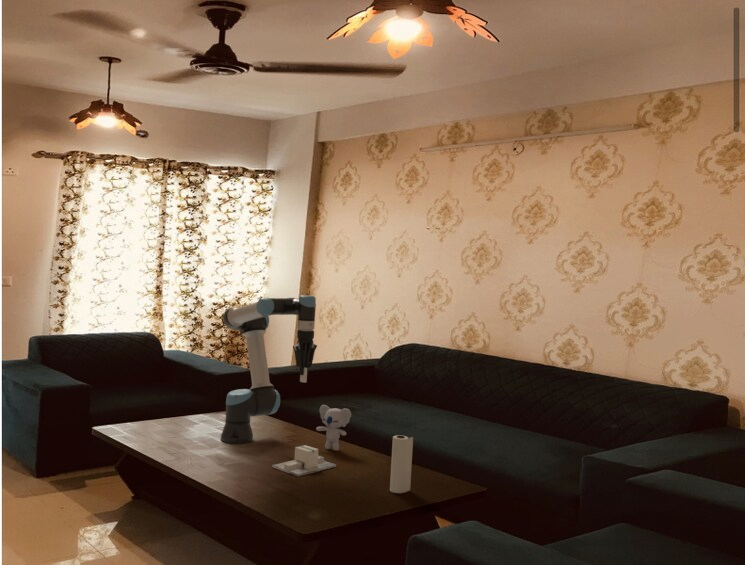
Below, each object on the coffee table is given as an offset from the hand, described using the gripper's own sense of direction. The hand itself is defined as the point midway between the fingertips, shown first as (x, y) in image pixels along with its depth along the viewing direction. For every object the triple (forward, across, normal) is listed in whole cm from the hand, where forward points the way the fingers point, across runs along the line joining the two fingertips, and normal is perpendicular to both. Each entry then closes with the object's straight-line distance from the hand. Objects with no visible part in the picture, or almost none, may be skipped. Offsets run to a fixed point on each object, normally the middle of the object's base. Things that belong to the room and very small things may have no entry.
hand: (303, 381), depth 325 cm
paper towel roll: (+33, -6, -63) cm, 71 cm away
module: (+31, -12, -17) cm, 38 cm away
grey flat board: (+32, -13, -17) cm, 39 cm away
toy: (+33, +16, -5) cm, 37 cm away
